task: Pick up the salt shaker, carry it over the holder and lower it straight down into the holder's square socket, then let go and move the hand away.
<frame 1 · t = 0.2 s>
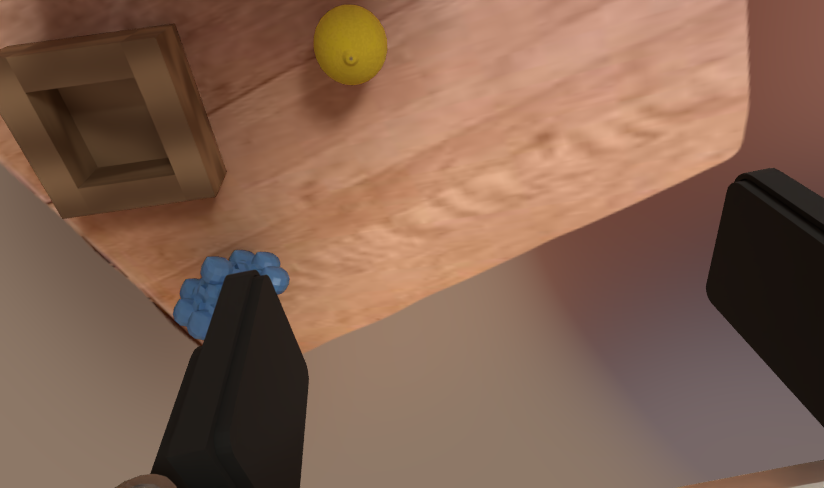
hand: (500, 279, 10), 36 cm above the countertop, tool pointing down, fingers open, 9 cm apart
lemon: (350, 33, 42), on the countertop
grapes: (238, 247, 52), on the countertop
shaker holder: (127, 114, 43), on the countertop
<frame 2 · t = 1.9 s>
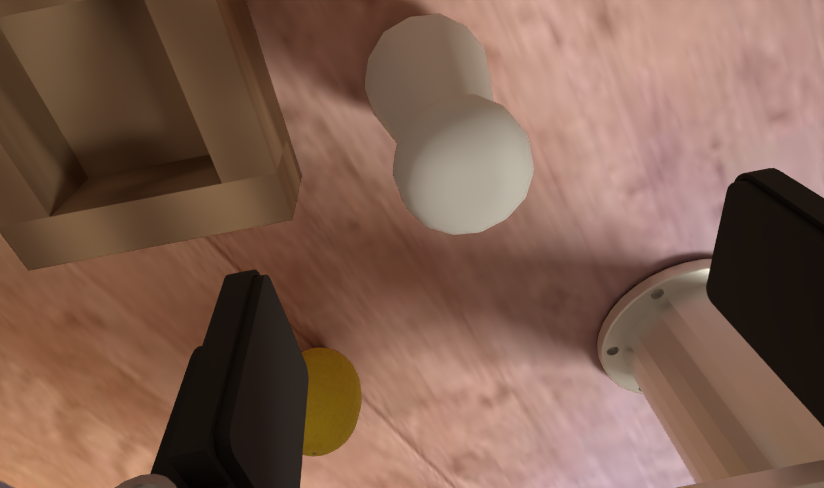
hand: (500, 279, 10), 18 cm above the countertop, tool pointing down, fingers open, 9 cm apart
lemon: (321, 350, 36), on the countertop
shaker holder: (132, 82, 25), on the countertop
salt shaker: (421, 67, 26), on the countertop
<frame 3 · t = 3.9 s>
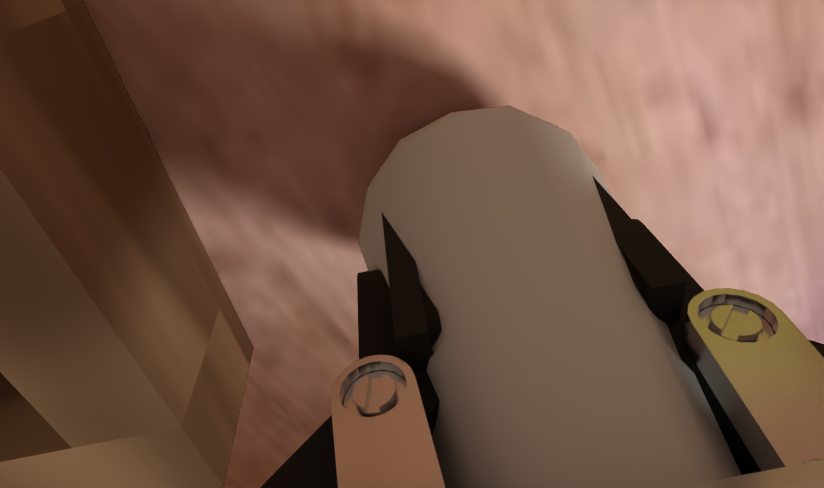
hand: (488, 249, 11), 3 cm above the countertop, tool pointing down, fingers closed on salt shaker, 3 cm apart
salt shaker: (461, 179, 14), on the countertop, touching gripper
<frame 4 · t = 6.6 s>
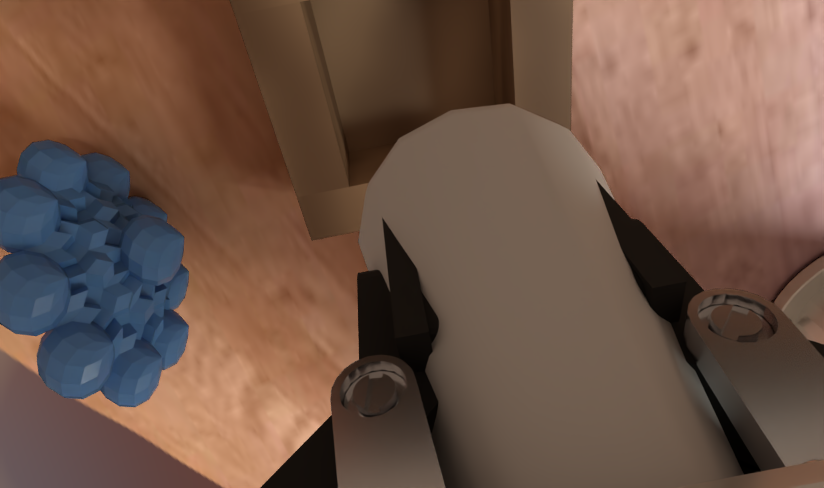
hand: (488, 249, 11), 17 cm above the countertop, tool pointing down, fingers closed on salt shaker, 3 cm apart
grapes: (161, 198, 28), on the countertop
shaker holder: (408, 56, 25), on the countertop
salt shaker: (461, 178, 14), point 13 cm above the countertop, touching gripper
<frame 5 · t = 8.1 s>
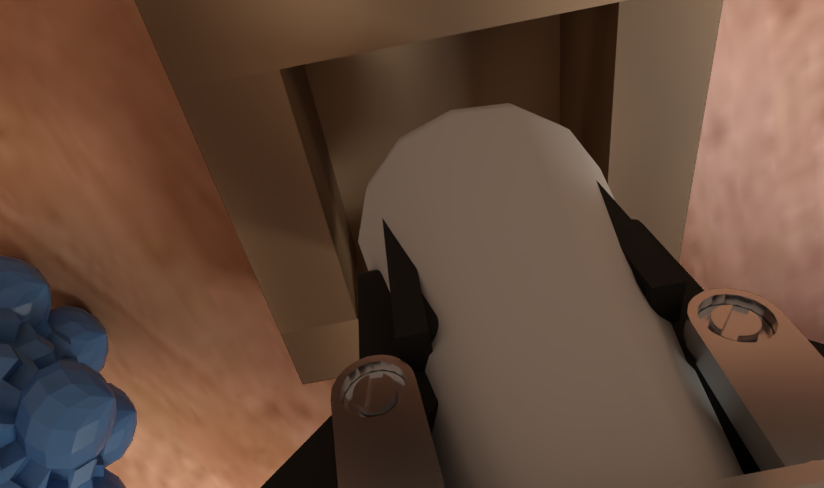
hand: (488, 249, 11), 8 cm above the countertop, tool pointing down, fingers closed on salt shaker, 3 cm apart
grapes: (102, 304, 21), on the countertop
shaker holder: (440, 124, 18), on the countertop
salt shaker: (461, 178, 14), point 4 cm above the countertop, touching gripper
when the fingers open (5 cm above the countertop, at t = 9.3 s): salt shaker drops 1 cm, resting on shaker holder.
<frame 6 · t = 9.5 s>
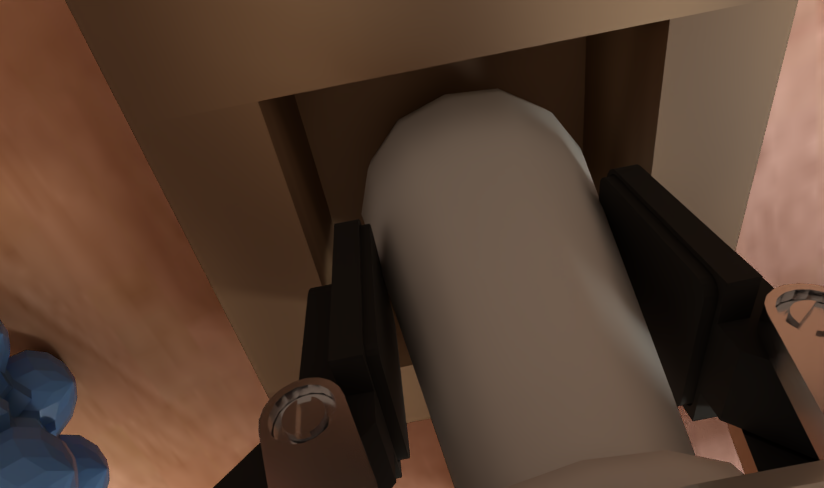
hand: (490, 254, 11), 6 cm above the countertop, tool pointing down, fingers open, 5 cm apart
grapes: (71, 346, 19), on the countertop
shaker holder: (448, 149, 16), on the countertop
salt shaker: (458, 158, 15), point 1 cm above the countertop, touching shaker holder
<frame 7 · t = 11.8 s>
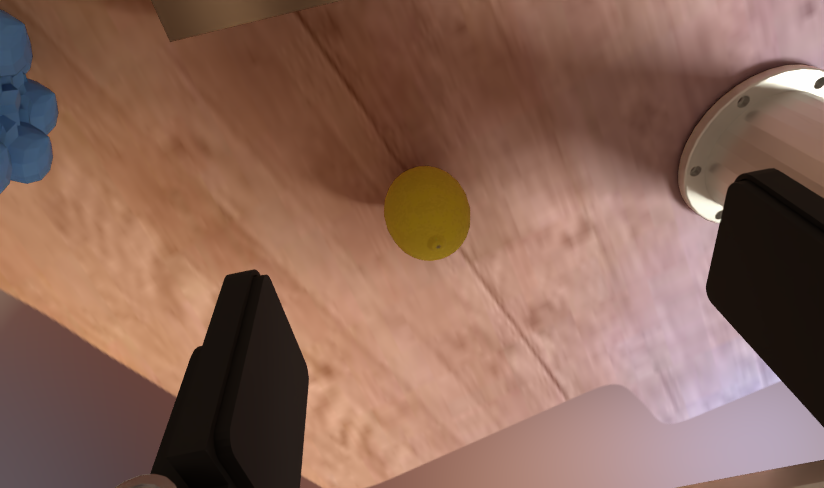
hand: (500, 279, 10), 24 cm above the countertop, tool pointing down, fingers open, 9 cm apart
lemon: (416, 181, 36), on the countertop
grapes: (27, 28, 27), on the countertop
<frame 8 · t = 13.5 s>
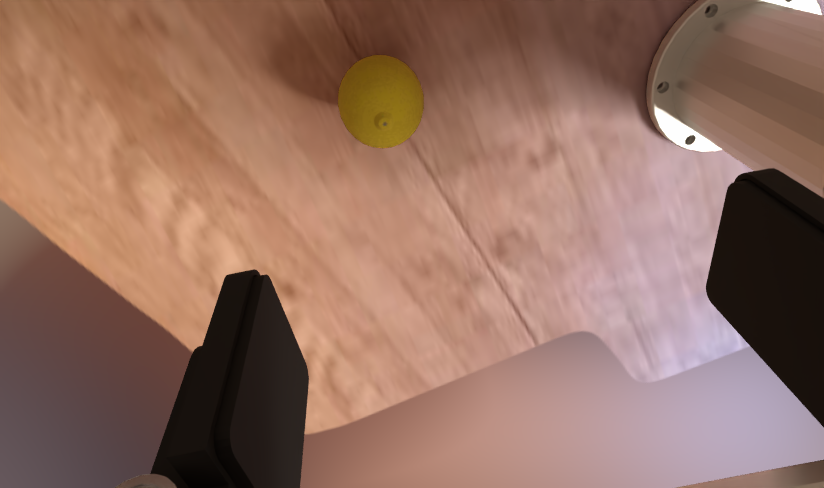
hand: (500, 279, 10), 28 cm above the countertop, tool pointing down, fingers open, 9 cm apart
lemon: (378, 82, 36), on the countertop
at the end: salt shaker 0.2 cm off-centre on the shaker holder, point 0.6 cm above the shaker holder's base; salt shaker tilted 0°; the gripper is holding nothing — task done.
